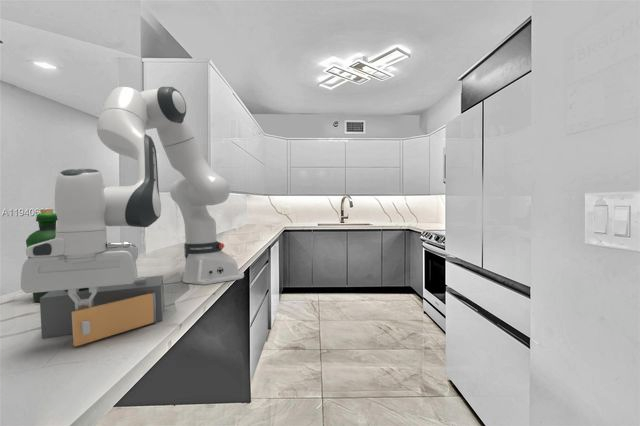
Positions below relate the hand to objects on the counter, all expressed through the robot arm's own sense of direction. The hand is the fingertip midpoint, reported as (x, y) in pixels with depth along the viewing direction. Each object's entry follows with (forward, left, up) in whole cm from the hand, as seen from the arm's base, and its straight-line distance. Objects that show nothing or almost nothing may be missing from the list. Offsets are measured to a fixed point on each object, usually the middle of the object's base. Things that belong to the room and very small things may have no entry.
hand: (84, 308), depth 71 cm
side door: (-6, 0, -7) cm, 9 cm away
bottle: (+18, -43, -7) cm, 47 cm away
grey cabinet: (-3, -12, -7) cm, 14 cm away
